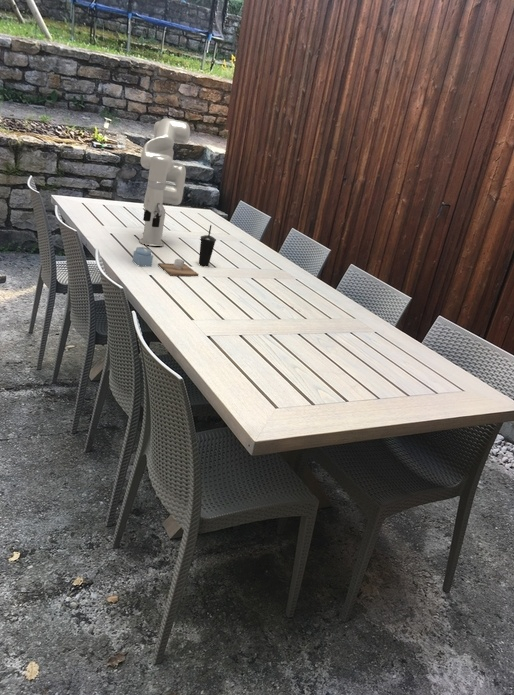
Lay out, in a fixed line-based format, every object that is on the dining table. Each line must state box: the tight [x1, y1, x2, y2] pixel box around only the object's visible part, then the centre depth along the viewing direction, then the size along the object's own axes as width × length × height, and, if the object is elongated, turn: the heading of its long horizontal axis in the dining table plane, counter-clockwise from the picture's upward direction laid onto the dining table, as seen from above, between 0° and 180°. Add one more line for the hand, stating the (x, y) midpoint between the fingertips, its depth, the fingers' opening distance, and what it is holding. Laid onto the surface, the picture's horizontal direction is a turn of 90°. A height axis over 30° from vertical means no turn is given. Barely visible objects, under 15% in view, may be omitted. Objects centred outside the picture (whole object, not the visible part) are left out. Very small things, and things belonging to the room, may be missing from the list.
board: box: [157, 262, 199, 277], centre depth 269 cm, size 14×14×1 cm
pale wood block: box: [173, 258, 185, 270], centre depth 268 cm, size 3×3×4 cm
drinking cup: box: [198, 224, 217, 267], centre depth 283 cm, size 8×8×20 cm
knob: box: [132, 246, 154, 267], centre depth 266 cm, size 7×7×7 cm
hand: (150, 223), depth 260 cm, fingers open, 9 cm apart
